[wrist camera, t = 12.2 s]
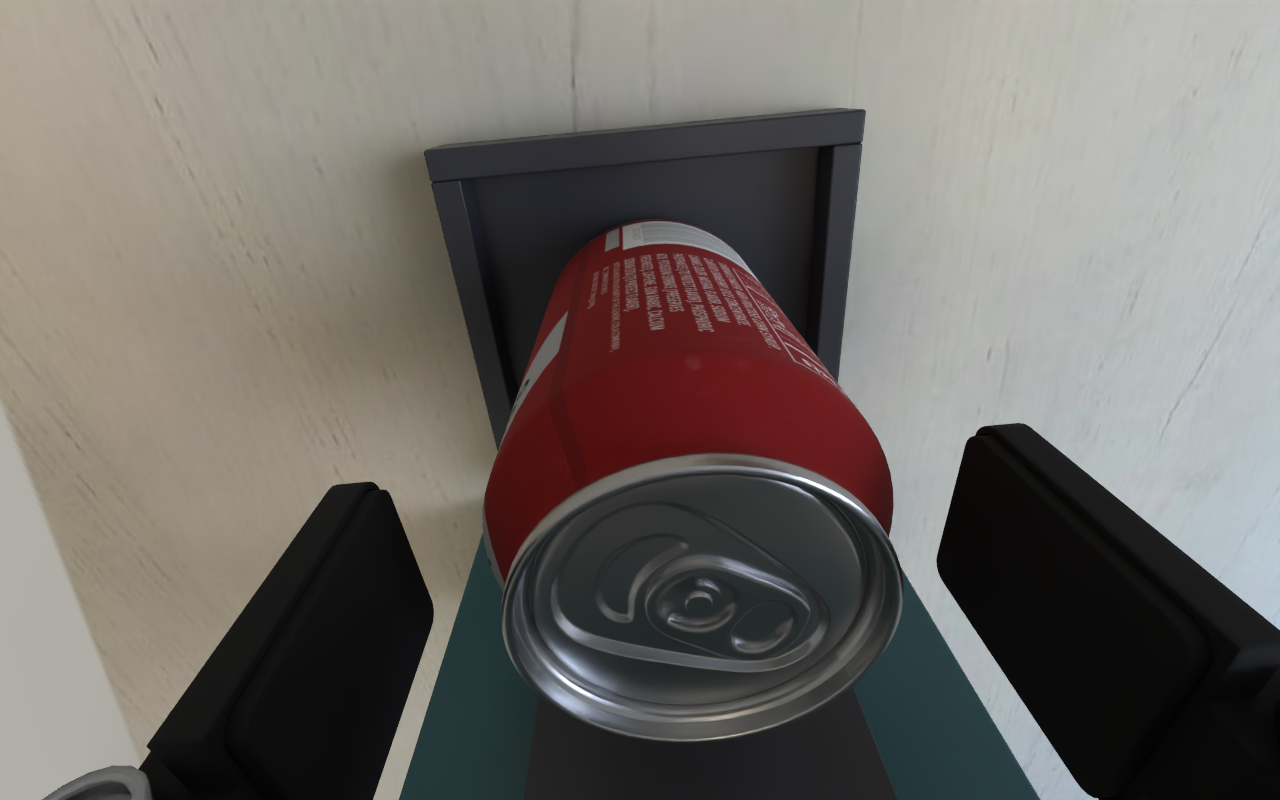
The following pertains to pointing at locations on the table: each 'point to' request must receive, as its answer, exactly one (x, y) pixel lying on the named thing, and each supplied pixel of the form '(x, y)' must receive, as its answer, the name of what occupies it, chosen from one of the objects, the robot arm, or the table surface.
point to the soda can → (686, 502)
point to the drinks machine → (718, 771)
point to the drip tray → (647, 189)
